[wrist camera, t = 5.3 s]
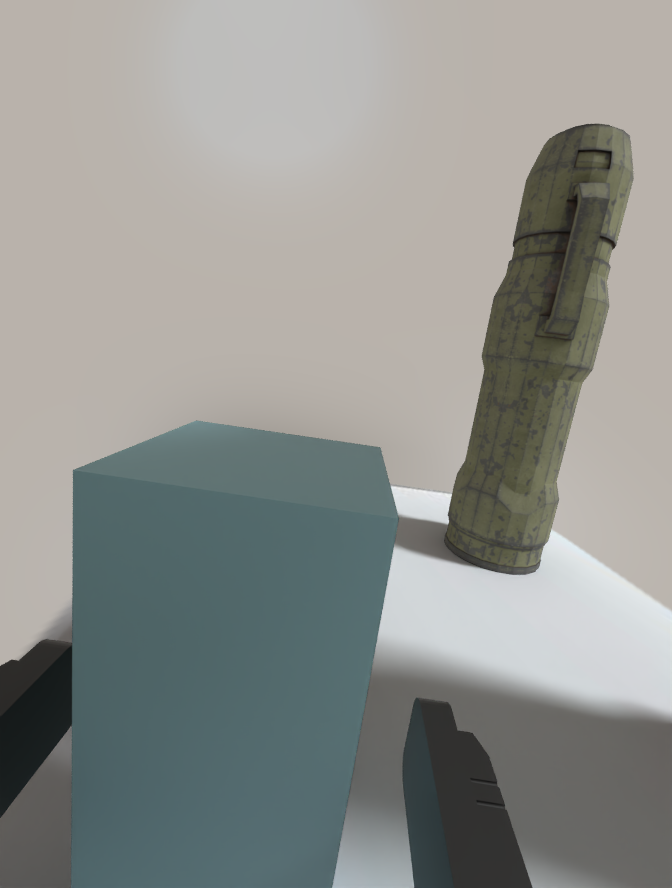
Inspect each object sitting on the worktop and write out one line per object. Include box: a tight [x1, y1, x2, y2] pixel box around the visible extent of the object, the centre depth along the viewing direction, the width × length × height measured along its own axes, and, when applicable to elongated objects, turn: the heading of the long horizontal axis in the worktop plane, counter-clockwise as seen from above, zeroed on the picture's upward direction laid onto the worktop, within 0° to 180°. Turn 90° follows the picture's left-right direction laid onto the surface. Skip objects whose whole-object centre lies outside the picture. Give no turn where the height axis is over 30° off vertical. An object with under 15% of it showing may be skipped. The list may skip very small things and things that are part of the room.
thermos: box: [444, 124, 633, 574], centre depth 36 cm, size 9×12×35 cm
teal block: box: [71, 421, 399, 888], centre depth 10 cm, size 5×5×14 cm
